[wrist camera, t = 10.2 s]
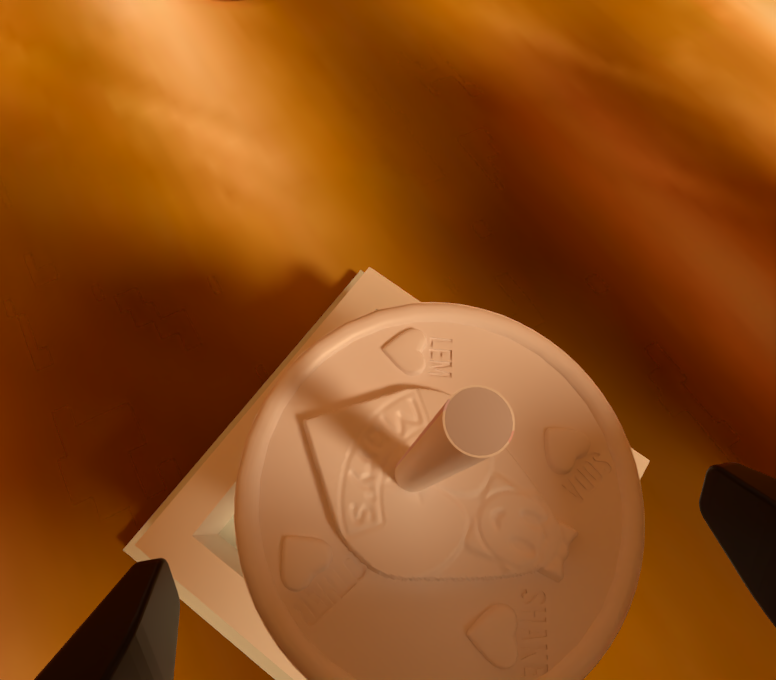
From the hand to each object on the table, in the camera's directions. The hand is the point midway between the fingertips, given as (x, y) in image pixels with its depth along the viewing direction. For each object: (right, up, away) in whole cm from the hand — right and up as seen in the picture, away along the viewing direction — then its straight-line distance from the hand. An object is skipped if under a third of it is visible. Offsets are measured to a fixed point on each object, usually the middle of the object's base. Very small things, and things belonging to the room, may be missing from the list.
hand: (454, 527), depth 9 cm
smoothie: (-1, -2, +9) cm, 9 cm away
